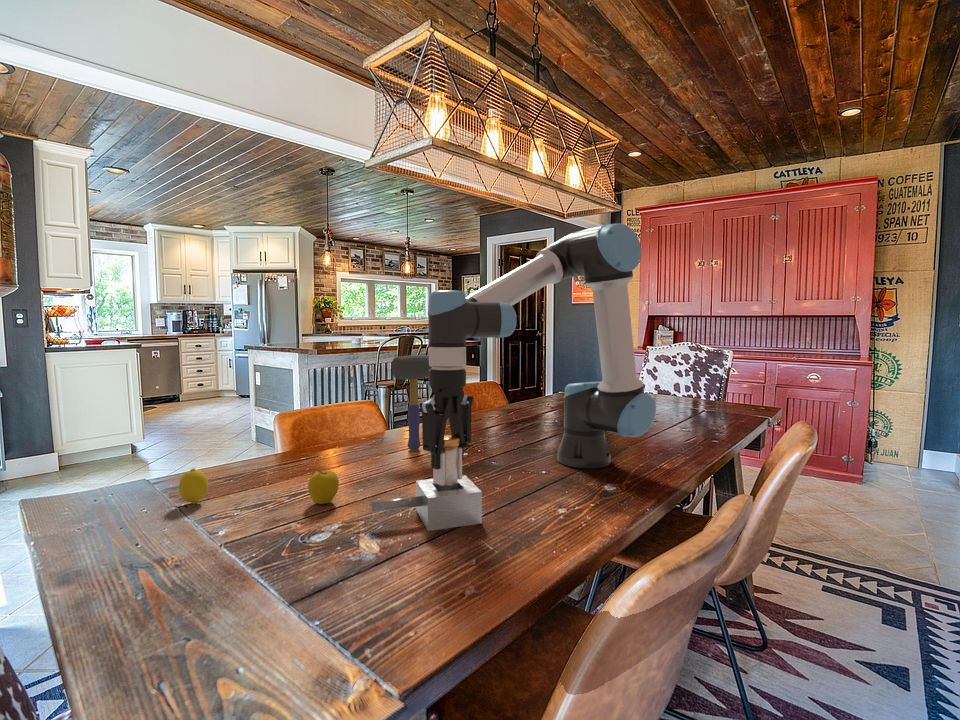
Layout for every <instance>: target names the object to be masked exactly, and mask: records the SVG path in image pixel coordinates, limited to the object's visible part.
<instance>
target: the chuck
mask: <svg viewBox="0 0 960 720" xmlns="http://www.w3.org/2000/svg"><path fill="white" fill-rule="evenodd" d="M410 508H411V509H412V508H416V509H415V511H416V513H417V514H418V516H419V517H420V520H421V522H422V524H423V525H424V527H425V528H426V530H427V531H428V532H430V531H438V530H447V529H451V528H452V529H453V528H459V527H466V526H474V525H479V524H483V523H482V522H483V492H482V490H481V489H480V488H479V487H478V486H476V484H475V483H474V482H473V481H472V480H471V479H470V478H468V476H467V475H463V474H462V479H460V480H459V479H458V490H449V491H440V492H438V484H436V483H433V478H427V479H418V480H415V496H409V497H401V498H393V499H384V500H376V501H371V502H370V511H371V513H377V512H378V513H379V512H386V511H394V510H401V509H403V510H404V509H410Z"/></svg>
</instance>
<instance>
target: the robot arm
mask: <svg viewBox="0 0 960 720" xmlns="http://www.w3.org/2000/svg"><path fill="white" fill-rule="evenodd" d="M641 258H642V246H641V243H640V240H639V237H638V236H637V234H636V232H635V231H634V230H632V228H631V227H629V226H628V225H626V224H625V223H619V222H618V223H609V224H608V223H606V224H603V225H600V226H595V227H591V228H586V229H583V230H578V231H574V232H571V233H569V234H566V235H565V236H563V237H561V238H559V239H558V240H557V241H554V242H552V243H551V244H549V245H548V246H546V247H545V248H542V249H541V250H539V251H538V252H537V253H536V255H535V257H534V258H533V259H530V260H529V261H527V262H526V263H524V264H522V265H520V266H518V267H516V268H515V269H513V270H511V271H509V272H508V273H506V274H504V275H503V276H501V277H499V278H497V279H495V280H494V281H492V282H489V284H486V285H485V286H482V287H481V288H479V289H478V290H476V291H474V292H472V293H470V294H469V295H467V296H466V293H465V292H464V291H462V290H450V289H449V290H445V289H444V290H434V291H432V292H431V293H429V295H428V305H427V307H428V308H427V310H428V312H427V316H428V321H427V322H428V355H429V365H430V366H431V367H432V369H430V370H429V377H428V386H429V387H430V389H431V393H430V396H429V399H428V400H426V401H420V403H418V405H419V410H420V412H421V413H420V414H421V426H422V428H421V430H422V434H421V435H422V436H421V437H422V450H423V451H425V452H430V457H431V458H430V460H431V461H430V463H431V464H430V465H431V469H433V470H432V473H433V475H432V476H433V477H432V479H433V483H436V484H439V485H442V486H443V485H445V453H443V452H442V448H443V442H444V436H445V432H446V428H447V427H446V426H447V421H449V427H450V434H451V435H452V436H458V437H459V438H460V445H459V446H458V479H459V480H460V479H462V476H463V462H464V459H465V458H464V449H465V448H466V449H467V448H468V446H469V443H471V442H472V407H473V403H474V396H473V395H469V394H468V395H467V394H465V392H464V388H465V387H466V385H467V370H466V369H465V368H464V367H465V366H466V365H467V339H471V338H475V339H476V338H477V339H479V338H480V339H481V338H484V339H487V338H489V339H490V338H496V339H500V338H508V337H510V336H511V335H512V334H513V333H514V331H515V330H516V327H517V317H518V316H517V313H516V310H515V308H514V305H516V304H517V303H519V302H521V301H523V300H524V299H526V298H527V297H529V296H530V295H532V294H534V293H536V292H538V291H539V290H542V288H544V287H546V286H547V285H549V284H550V285H551V284H552V285H555V284H558V283H560V282H562V281H563V280H565V279H570V278H574V277H582V276H583V277H584V283H585V285H586V286H587V287H588V288H590V289H591V290H592V299H593V306H594V314H595V315H594V316H595V324H596V325H595V326H596V334H597V341H598V352H599V361H600V369H601V378H602V380H601V381H587V382H574V383H568V384H567V385H566V386H565V387H564V396H563V435H562V438H561V441H560V443H559V447H558V450H557V453H556V454H557V455H556V456H557V459H556V460H557V462H558V463H560V464H562V465H564V466H567V467H570V468H571V467H572V468H578V469H601V468H605V467H608V466H610V465H611V463H612V460H611V459H612V457H611V456H612V455H611V452H610V449H609V446H608V442H607V438H606V432H608V433H611V434H615V435H619V436H621V437H628V438H629V437H630V438H638V437H641V436H643V435H644V434H646V433H647V432H648V431H649V429H650V428H651V427H652V424H653V423H654V420H655V417H656V411H657V410H656V409H657V408H656V407H657V405H656V402H655V399H654V398H653V397H652V395H650V394H648V393H647V392H645V388H644V382H643V381H642V379H640V378H638V376H637V369H636V360H635V358H636V357H635V349H634V339H633V337H634V336H633V327H632V317H631V308H630V297H629V289H628V288H629V287H628V285H629V283H630V282H631V280H632V279H633V278H634V272H633V271H634V270H635V269H636V268H637V267H638V266H639V264H640V260H641Z"/></svg>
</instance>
